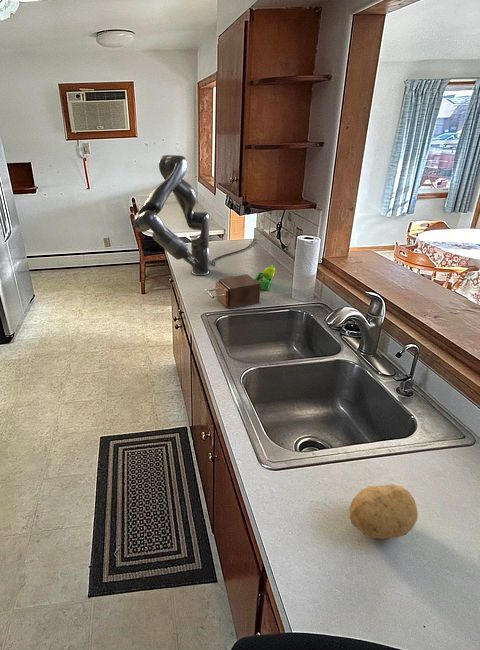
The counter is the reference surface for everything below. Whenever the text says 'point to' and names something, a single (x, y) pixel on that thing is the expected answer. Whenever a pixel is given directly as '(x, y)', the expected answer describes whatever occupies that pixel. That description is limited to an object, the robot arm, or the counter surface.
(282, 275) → the counter surface
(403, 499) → the potato
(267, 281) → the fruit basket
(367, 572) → the counter surface
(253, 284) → the cabinet
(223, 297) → the drawer
